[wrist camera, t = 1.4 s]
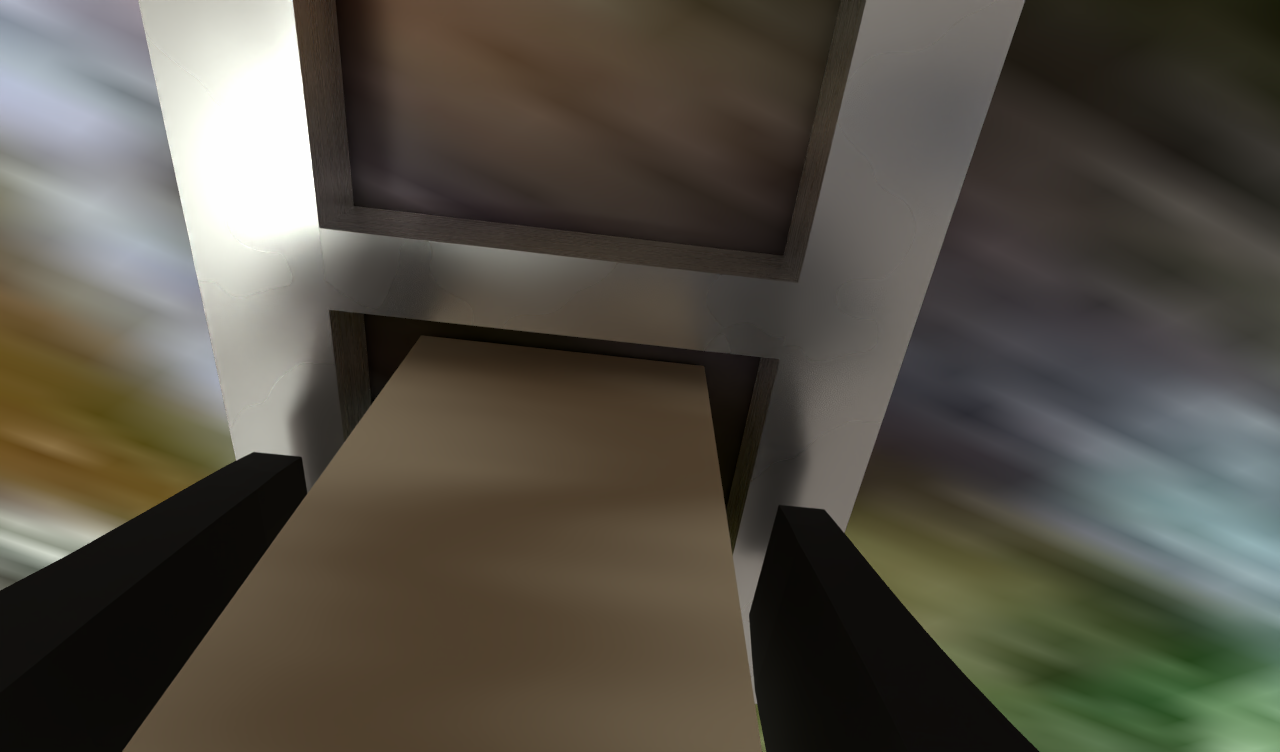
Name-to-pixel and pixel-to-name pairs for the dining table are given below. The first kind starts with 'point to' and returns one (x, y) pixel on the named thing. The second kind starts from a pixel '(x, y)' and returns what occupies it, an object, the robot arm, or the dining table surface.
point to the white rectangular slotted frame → (573, 244)
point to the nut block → (490, 576)
